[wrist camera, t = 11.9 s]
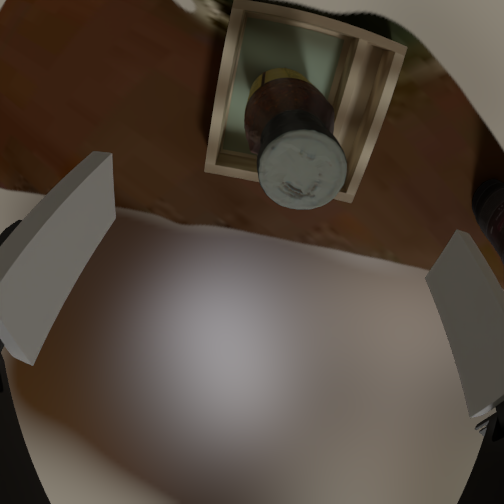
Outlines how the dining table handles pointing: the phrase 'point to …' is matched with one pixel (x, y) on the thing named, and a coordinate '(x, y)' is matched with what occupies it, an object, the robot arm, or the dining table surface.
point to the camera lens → (491, 212)
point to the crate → (312, 68)
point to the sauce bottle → (294, 140)
